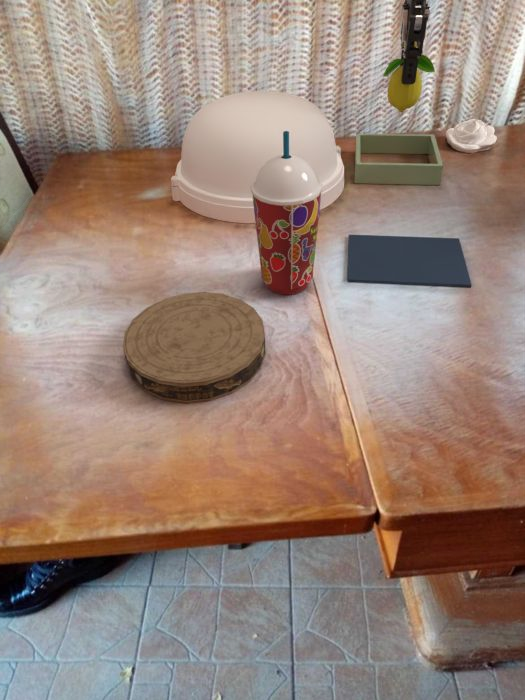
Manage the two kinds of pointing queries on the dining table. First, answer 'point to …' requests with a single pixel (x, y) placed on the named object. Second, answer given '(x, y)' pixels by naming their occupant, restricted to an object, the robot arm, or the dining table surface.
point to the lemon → (405, 93)
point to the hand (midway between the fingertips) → (406, 78)
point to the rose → (471, 136)
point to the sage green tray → (398, 171)
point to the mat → (407, 260)
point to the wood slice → (195, 347)
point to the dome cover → (251, 151)
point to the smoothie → (286, 220)
